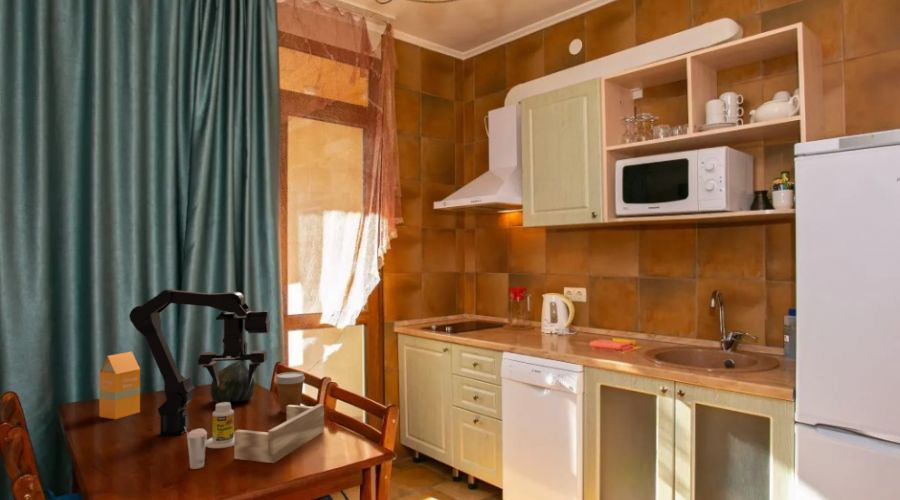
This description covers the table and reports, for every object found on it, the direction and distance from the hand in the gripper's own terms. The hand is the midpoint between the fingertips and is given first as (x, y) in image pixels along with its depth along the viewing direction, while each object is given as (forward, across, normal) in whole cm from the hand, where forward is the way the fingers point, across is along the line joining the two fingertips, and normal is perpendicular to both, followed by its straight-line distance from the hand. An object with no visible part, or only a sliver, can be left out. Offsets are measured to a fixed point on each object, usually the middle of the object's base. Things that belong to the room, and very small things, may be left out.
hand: (233, 386), depth 165 cm
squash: (+13, +8, -33) cm, 36 cm away
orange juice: (+13, +41, -22) cm, 48 cm away
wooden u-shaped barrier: (+13, -17, +15) cm, 26 cm away
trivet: (+13, 0, +11) cm, 17 cm away
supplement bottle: (+13, 0, +11) cm, 17 cm away
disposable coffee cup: (+13, -14, -18) cm, 26 cm away
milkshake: (+13, +2, +29) cm, 32 cm away
